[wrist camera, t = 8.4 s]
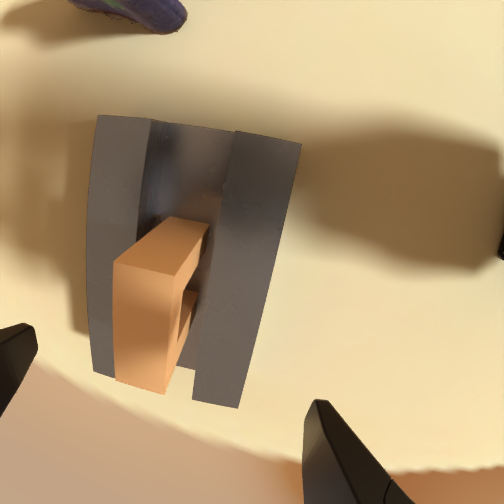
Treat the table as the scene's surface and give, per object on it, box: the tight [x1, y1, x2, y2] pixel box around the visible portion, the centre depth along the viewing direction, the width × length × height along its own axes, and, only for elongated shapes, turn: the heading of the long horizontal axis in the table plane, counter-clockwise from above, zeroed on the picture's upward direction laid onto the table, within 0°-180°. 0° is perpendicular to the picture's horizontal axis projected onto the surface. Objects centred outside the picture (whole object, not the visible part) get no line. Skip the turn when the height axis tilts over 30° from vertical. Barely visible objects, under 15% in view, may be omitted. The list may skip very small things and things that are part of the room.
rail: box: [86, 115, 302, 409], centre depth 18 cm, size 10×16×4 cm, turn 169°
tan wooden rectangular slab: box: [113, 216, 210, 395], centre depth 15 cm, size 2×6×8 cm, turn 168°
